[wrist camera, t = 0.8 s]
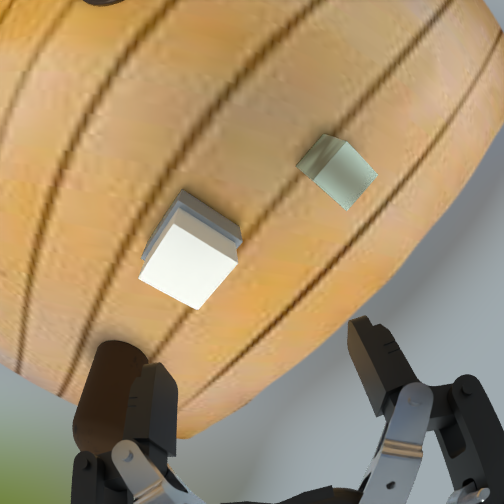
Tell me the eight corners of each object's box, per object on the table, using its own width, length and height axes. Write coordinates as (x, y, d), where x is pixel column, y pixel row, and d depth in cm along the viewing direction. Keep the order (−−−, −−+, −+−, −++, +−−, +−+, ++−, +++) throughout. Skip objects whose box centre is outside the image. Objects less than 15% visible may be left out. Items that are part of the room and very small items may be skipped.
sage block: (323, 133, 28) (346, 141, 23) (352, 161, 30) (377, 175, 25) (295, 166, 30) (312, 180, 25) (325, 192, 32) (346, 211, 27)
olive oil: (95, 366, 43) (69, 487, 21) (93, 330, 38) (54, 473, 17) (148, 381, 46) (139, 505, 24) (155, 347, 41) (142, 498, 20)
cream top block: (178, 207, 27) (173, 223, 23) (235, 242, 30) (238, 263, 26) (145, 257, 29) (138, 278, 26) (198, 287, 32) (197, 310, 28)
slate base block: (182, 188, 30) (178, 200, 26) (239, 225, 33) (242, 241, 30) (147, 241, 32) (140, 258, 29) (201, 272, 36) (200, 292, 32)
